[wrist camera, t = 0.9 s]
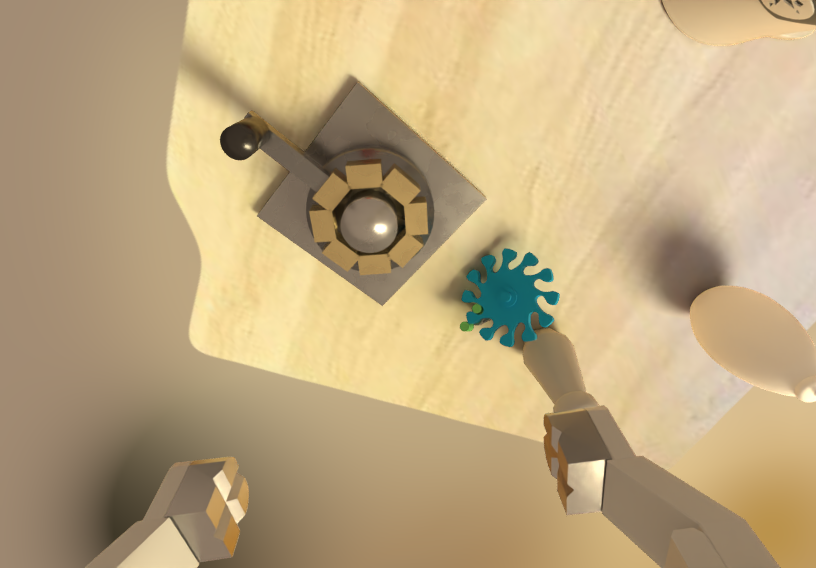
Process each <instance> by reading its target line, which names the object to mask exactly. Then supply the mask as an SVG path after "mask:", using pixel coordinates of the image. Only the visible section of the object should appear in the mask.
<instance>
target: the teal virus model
mask: <svg viewBox="0 0 816 568" xmlns="http://www.w3.org/2000/svg"><path fill="white" fill-rule="evenodd" d="M502 255H503V262H502V265H501V267H500V269H499V271H498V272H496V273H494V272H493V266H494V264H495V262H496V258H495V256H493V255H487V256H484V257H482V259H481V261H482V263H483V265H484V266H485V268H486V270H487V281H486V282H485V283H481V275H480V272H479V271H477V270H474V269H473V270H472V271H470V272H469V274H468V275H467V276H466V277H467V279H468V280H469V281H471V282H473V283H475V284H476V285H477V286H478V287H479V289H480V291H481V297H480V298H478V299H477V298H476V297H475V295H474V293H473V292H472V291H468V290H465V291H464V292H463V295H462V301H463V302H466V303H471V302H475V303H477V304H474V305H473V307H472V312H471V311H470V312H467V315H466V316H467V321H468V322H462V323H461V324H460V329H461V330H462V331H472V330H473V328H474V325H481V324H483V323H485V322H487V321H489V320H491V319H492V320H493V326H492V327H491V328H482V329H481V330H480V332H479V333H480V335H481V336H482V338H483V339H485V340H491V339H492V338H493V336H494V333H495V331H496V330H497V329H498V328H500V327H501V326H503V325H507V326H508V329H509V331H508V333H507V334H505V335H503V336H502V337H501V338H500V343H501V344H502V345H504V346H508V347H512V346H513V345H514V343H515V340H514V332H515V329H516V327H517V326H518V324H519V323H521V322H522V323H524V325H525V330H524V332H523V334H522V340H523V341H524V342H528V341H534V340H537V334H536V333H535V332H534V330H533V329H532V326H531V314H532V313H533V312H537V313H538V315H539V324H540V325H541V326H542V327H548V326H549V325H551V324H552V322H553V321H554V318H553V317H552V316H551V315H549V314H546V313H545V312H543V311H542V310H541V309H540V307H539V305H538V303H537V298H538V297H539V296H543V297H544V298H545V299H546V301H547V303H549V304H551V305H556V304H557V303H558V301H559V296H560V294H559V293H557V292H554V291H551V292H542V291H540V290H538V289H537V288H535V286H534V282H535V281H536V280H537V279H541V280H543V281H545V282H552V281H553V273H552V270H551V269H548V268H545V269H543V270H542V271H541V272H539V273H537V274H535V275H525V274H524V272H523V271H524V268H525V267H527V266H535V265H536V264H537V263H538V262H539V261H538V259H537V258H536V257H535V256H534V255H533V254H532V253H530V252H529V253H527V254H525V256H524V259H523V261H522V262H521V264H520V265H519V266H517V267H516V268H514V269H512V270H510V269H509V268H508V264H509V263H510V262H511V261H512V260H514V259H515V258H516V257H517V252H515V251H513V250H511V249H504V250H503V252H502Z"/></svg>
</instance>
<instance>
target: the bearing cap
mask: <svg viewBox="0 0 816 568" xmlns="http://www.w3.org/2000/svg"><path fill="white" fill-rule="evenodd" d="M305 153H306V154H307V155H309V156H310V157H311V158H312V159H314V160H315V161H316V162H317V163H318V164H320V165H321V166H322V167H323V168H325V169H326V170H327V171H328V172H330V173H331V172H332V171H333V170H334V168H337V169H338V170H339V171H340V172H342V173H343V174H344V175H345V176H347V175H346V168H345V166H346V163H347V161H357V160H370V159H381V162H382V172H383V176H384V175H385V173H386V172H387V171H388V170H389V169H390V167H391V166H392V165H393V164H394V163H395V164H396V165H397V166H398V167H400V168H401V169H402V170H403V171H404V172H405V173H407V174H408V175H409V176H410V177H411V178H412V179H413V180H415V181H416V182H417V183H418V184H419V185H420V190H421V191H420V192H419V193H418V194H417V195H416V196H415V197H423V196H425V197H426V202H427V222H428V234H423V235H419V236H420V237H422V238H423V245H424V246H423V247H422V248H421V249H420V250H419V251H418V252H417V253H416V254H415V255H414V256H413V257H412V258H411V259H410V261H409V262H408V263H407V264H406V265H405V266H404V267H403V268H402V267H401V266H399V265H398V264H397V263H396V262H394V261H393V260H392V259H391V273H384V274H371V275H360V273H359V265H358V261H357V262H356V263H355V264H354V265H353V266H352V267H351V269H350V270H349V271H348V272H347V271H346V270H344V269H343V268H342V267H340V266H339V265H337V264H336V263H335V262H333V261H332V260H330V259H329V258H328V257H326V256H325V255H324V254H322V251H323V248H324V245H325V244H326V243H327V242H315V241H314V235H313V230H312V224H311V219H310V213H309V211H310V209H311V206H312V205H315V204H319V203H317V202H316V201H315V200H313V199H312V198H313V196H314V194H315V191H314V190H313V189H312V188H310V187H309V186H308V185H306V184H305V183H304V182H303V181H301V180H300V179H299V178H297V177H296V176H295V175H294V174H292V173H291V172H290V173H289V174H288V175H287V177H286V178H285V179H284V181H283V182H282V183H281V185H280V186H279V187H278V189H277V190H276V191H275V193H274V194H273V195H272V196H271V198H270V199H269V200H268V202H267V203H266V204H265V206H264V207H263V208H262V210H261V211H260V212H259V214H258V215H257V217H259V218H260V219H262V220H263V221H264V222H266V223H267V224H269V225H270V226H271V227H273V228H274V229H276V230H277V231H278V232H280V233H281V234H283V235H284V236H285V237H287V238H288V239H290V240H291V241H292V242H294V243H295V244H297V245H298V246H299V247H301V248H302V249H304V250H305V251H306V252H308V253H309V254H311V255H312V256H313V257H315V258H316V259H318V260H319V261H320V262H322V263H323V264H325V265H326V266H327V267H329V268H330V269H332V270H333V271H334V272H336V273H337V274H339V275H340V276H341V277H343V278H344V279H346V280H347V281H348V282H350V283H351V284H353V285H354V286H355V287H357V288H358V289H359V290H361V291H362V292H364V293H365V294H366V295H368V296H369V297H371V298H372V299H373V300H375V301H376V302H378V303H379V304H380V305H382V306H383V305H384V304H385V303H386V302H387V301H388V300H389V299H390V298H391V297H392V296H393V295H394V294H395V292H396V291H397V290H398V289H399V288H400V287H401V286H402V285H403V284H404V283H405V282H406V281H407V280H408V279H409V278H410V277H411V276H412V275H413V274H414V273H415V272H416V271H417V270H418V269H419V268H420V267H421V266H422V265H423V264H424V263H425V262H426V261H427V260H428V259H429V258H430V257H431V256H432V255H433V254H434V253H435V252H436V250H437V249H438V248H439V247H440V246H441V245H442V244H443V243H444V242H445V241H446V240H447V239H448V238H449V237H450V236H451V235H452V234H453V233H454V232H455V231H456V230H457V229H458V228H459V227H460V226H461V225H462V224H463V223H464V222H465V221H466V220H467V219H468V218H469V217H470V216H471V215H472V214H473V213H474V212H475V211H476V210H477V208H478V207H479V206H480V205H481V204H482V203H483V202H484V201H485V200H486V197H485V196H484V195H483V194H482V193H481V192H480V191H479V190H478V189H476V188H475V187H474V186H473V185H472V184H471V183H470V182H469V181H468V180H467V179H465V178H464V177H463V176H462V175H461V174H460V173H459V172H458V171H457V170H456V169H454V168H453V167H452V166H451V165H450V164H449V163H448V162H447V161H446V160H445V159H443V158H442V157H441V156H440V155H439V154H438V153H437V152H436V151H435V150H434V149H432V148H431V147H430V146H429V145H428V144H427V143H426V142H425V141H424V140H423V139H421V138H420V137H419V136H418V135H417V134H416V133H415V132H414V131H413V130H412V129H410V128H409V127H408V126H407V125H406V124H405V123H404V122H403V121H402V120H401V119H399V118H398V117H397V116H396V115H395V114H394V113H393V112H392V111H391V110H390V109H389V108H387V107H386V106H385V105H384V104H383V103H382V102H381V101H380V100H379V99H378V98H376V97H375V96H374V95H373V94H372V93H371V92H370V91H369V90H368V89H367V88H365V87H364V86H363V85H362V84H361V83H360V82H359V81H358V82H357V83H356V85H355V86H354V87H353V89H352V90H351V91H350V93H349V94H348V95H347V97H346V98H345V99H344V101H343V102H342V103H341V105H340V106H339V107H338V109H337V110H336V111H335V113H334V114H333V115H332V117H331V118H330V119H329V121H328V122H327V123H326V125H325V126H324V127H323V129H322V130H321V131H320V133H319V134H318V135H317V137H316V138H315V139H314V141H313V142H312V143H311V145H310V146H309V147H308V149H307V150H306V151H305ZM335 213H336V219H337V226H338V232H339V233H341V234H342V235H343V237H344V239H345V240H346V242H347V243H348V244H349V245H350V246H351V247H353V248H354V249H356V250H358V251H361V252H365V253H374V252H379V251H381V250H384V249H385V248H387V247H388V246H389V245H390V244H391V243H392V242H393V240H394V239H395V238H396V237H397V236H398V235H399V233H400V232H401V231H402V230H403V229H404V228H405V227H406V225H405V212H404V206H403V205H402V204H401V203H400V202H398V201H397V200H396V199H395V198H394V197H392V196H391V195H390V194H389V193H388V192H386V191H385V190H384V189H383V188H382V187H374V188H361V189H350V190H349V192H348V193H347V194H346V195H345V196H344V198H343V199H342V200H341V201H340V202H339V204H338V205H337V206H336V207H335Z"/></svg>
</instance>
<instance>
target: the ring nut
mask: <svg viewBox="0 0 816 568" xmlns="http://www.w3.org/2000/svg"><path fill="white" fill-rule="evenodd" d="M220 144H221V147H222V149H223V151H224V152H225V153H226V154H227V155H228V156H229V157H230V158H232V159H235V160H245V159H247V158H249V157H250V156H251V155H252V154H254V153H255V152H256V151H257V150H258V149H261V150H263V151H264V152H265V153H266V154H268V155H269V156H270V157H272V158H273V159H274V160H275V161H277V162H278V163H279V164H281V165H282V166H283V167H284V168H286V169H287V170H288V171H290V172H291V173H292V174H294V175H295V176H296V177H297V178H299V179H300V180H301V181H303V182H304V183H305V184H306V185H308V186H309V187H310V188H312V189H313V190H314V191H315V194H314V196H313V198H312V199H313V200H315V201H316V202H317V203H319V204H315V205H312V206H311V209H310V211H309V213H310V219H311V224H312V230H313V235H314V241H315V242H327V243H326V244H325V245H324V248H323V251H322V254H324V255H325V256H326V257H328V258H329V259H330V260H332V261H333V262H335V263H336V264H337V265H339V266H340V267H342V268H343V269H344V270H346V271H347V272H348V271H349V270H350V269H351V267H352V266H353V265H354V264H355V263H356V262H357V261H358V265H359V273H360V275H371V274H384V273H391V259H392V260H393V261H394V262H396V263H397V264H398V265H399V266H401V267H402V268H403V267H404V266H405V265H406V264H407V263H408V262H409V261H410V259H411V258H412V257H413V256H414V255H415V254H416V253H417V252H418V251H419V250H420V249H421V248H422V247H423V246H424V245H423V238H422V237H420V236H419V235H423V234H428V222H427V202H426V197H425V196H423V197H415V196H416V195H417V194H418V193H419V192H420V191H421V190H420V185H419V184H418V183H417V182H416V181H415V180H413V179H412V178H411V177H410V176H409V175H408V174H407V173H405V172H404V171H403V170H402V169H401V168H400V167H398V166H397V165H396V164H395V163H394V164H393V165H392V166H391V167H390V169H389V170H388V171H387V172H386V173H385V175H384V176H383V172H382V162H381V159H370V160H357V161H347V163H346V166H345V168H346V175H347V176H345V175H344V174H343V173H342V172H340V171H339V170H338V169H337V168H334V170H333V171H332V172H331V173H330V172H328V171H327V170H326V169H325V168H323V167H322V166H321V165H320V164H318V163H317V162H316V161H315V160H314V159H312V158H311V157H310V156H309V155H307V154H306V153H305V152H304V151H302V150H301V149H300V148H299V147H297V146H296V145H295V144H294V143H292V142H291V141H290V140H289V139H287V138H286V137H285V136H284V135H282V134H281V133H280V132H279V131H277V130H276V129H275V128H274V127H272V126H271V125H270V124H269V123H267V122H266V121H265V120H264V119H262V118H261V117H260V116H259V115H257V114H256V113H255V112H254V111H250V112H248V113H247V115H246V116H245V118H244V119H243V120H241V121H239V122H237V123H235V124H233V125H231V126H230V127H228V128H226V129H225V130H224V131H223V132H222V134H221V137H220ZM374 187H382V188H383V189H384V190H385V191H386V192H388V193H389V194H390V195H391V196H392V197H394V198H395V199H396V200H397V201H398V202H400V203H401V204H402V205H403V206H404V212H405V225H406V227H405V228H404V229H403V230H402V231H401V232H400V233H399V235H398V236H397V237H396V238H395V239H394V240H393V242H392V243H391V244H390V245H389V246H388V247H387V248H385V249H384V250H381V251H379V252H374V253H365V252H361V251H358V250H356V249H354V248H353V247H351V246H350V245H349V244H348V243H347V242H346V240H345V239H344V237H343V235H342V234H341V233H339V232H338V226H337V219H336V213H335V207H336V206H337V205H338V204H339V202H340V201H341V200H342V199H343V198H344V196H345V195H346V194H347V193H348V192H349V190H350V189H361V188H374Z"/></svg>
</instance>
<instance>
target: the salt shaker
mask: <svg viewBox="0 0 816 568" xmlns="http://www.w3.org/2000/svg"><path fill="white" fill-rule="evenodd" d="M534 332H535V333H536V334H537V340H534V341H528V342H525V343H524V348H523V359H524V364H525V365H526V367H527V368H528V369H529V371H530V372H531V373H532V375H533V376H534V377H535V378H536V380H537V381H538V382H539V384H540V385H541V386H542V388H543V389H544V391H545V392H546V393H547V395H548V396H549V398H550V399H551V400H552V402H553V403H554V404H555V405H554V407H553V410H554V412H561V411H568V410H574V409H581V408H582V409H584V408H589V407H596V406H600V405H599V404H598V402H597V401H596V400H595V399H594V397H593V396H592V395H590V394H589V393H587V392H586V389H585V385H584V381H583V378H582V374H581V370H580V367H579V363H578V360H577V356H576V352H575V349H574V345H573V344H572V343H571V341H570V340H569V339H568V338H567V337H566V335H563V334H561V333H559V332H556V331H554V330H553V329H551V328H549V327H548V328H543V329H538V330H534Z"/></svg>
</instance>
